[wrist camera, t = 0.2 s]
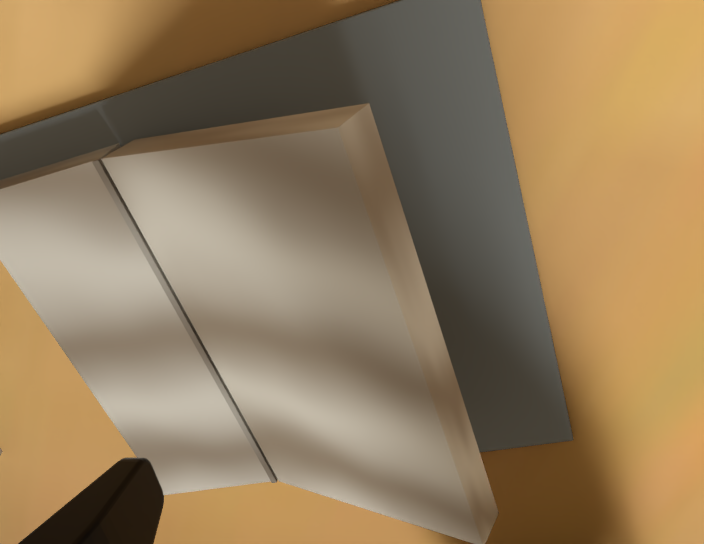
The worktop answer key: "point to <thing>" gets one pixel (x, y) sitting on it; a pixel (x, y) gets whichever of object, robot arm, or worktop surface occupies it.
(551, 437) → the underlay mat
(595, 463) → the worktop surface
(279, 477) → the loose plank
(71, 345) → the grey flat block
